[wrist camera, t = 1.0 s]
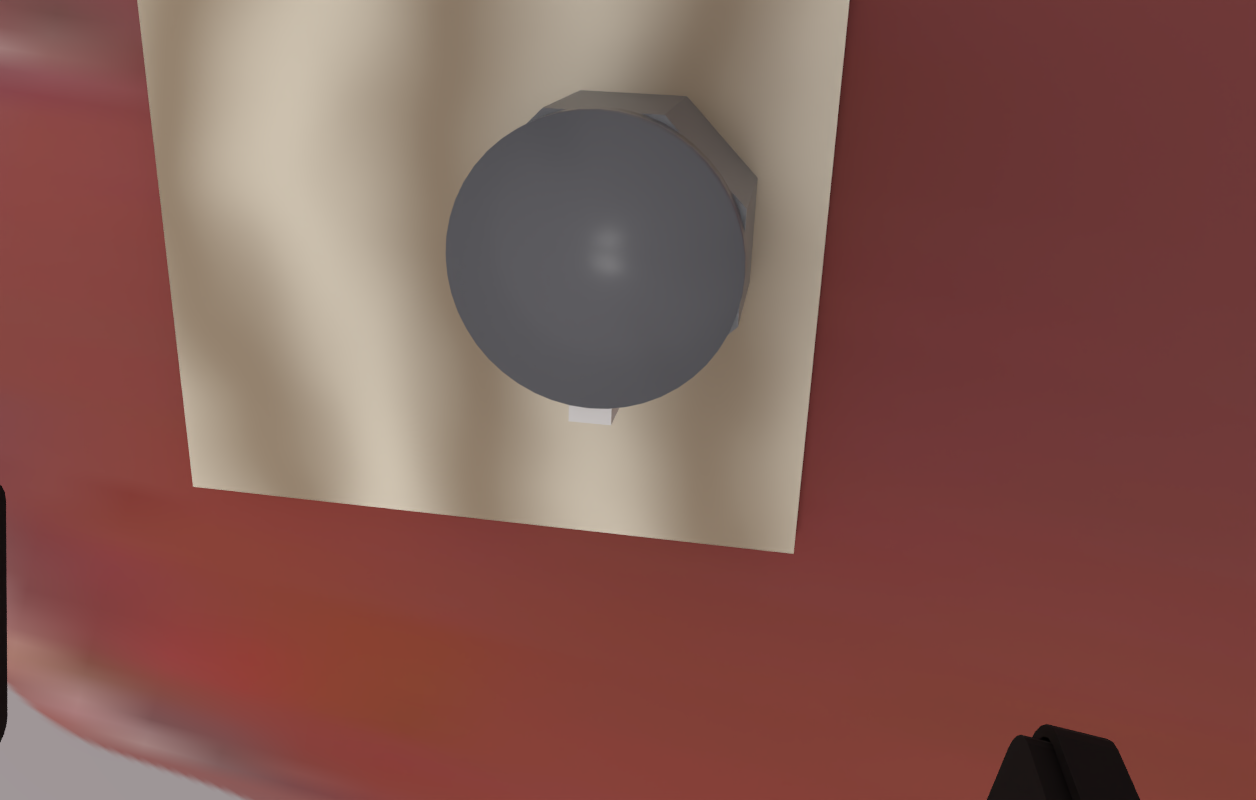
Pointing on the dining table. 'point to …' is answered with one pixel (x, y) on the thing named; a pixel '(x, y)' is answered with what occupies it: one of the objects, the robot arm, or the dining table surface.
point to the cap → (604, 249)
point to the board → (416, 254)
